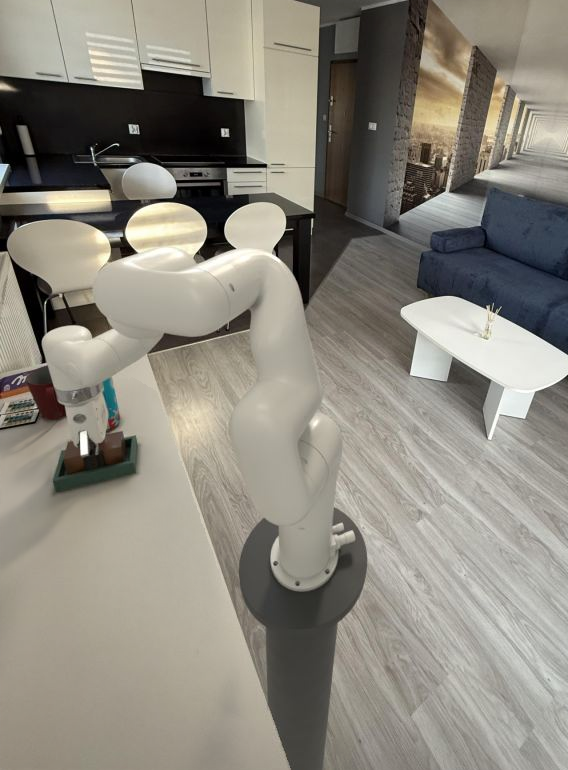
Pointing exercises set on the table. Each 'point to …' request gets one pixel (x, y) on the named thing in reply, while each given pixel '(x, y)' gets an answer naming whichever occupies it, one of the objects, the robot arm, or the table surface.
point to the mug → (45, 394)
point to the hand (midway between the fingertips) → (97, 456)
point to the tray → (96, 470)
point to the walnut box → (110, 449)
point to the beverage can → (111, 404)
